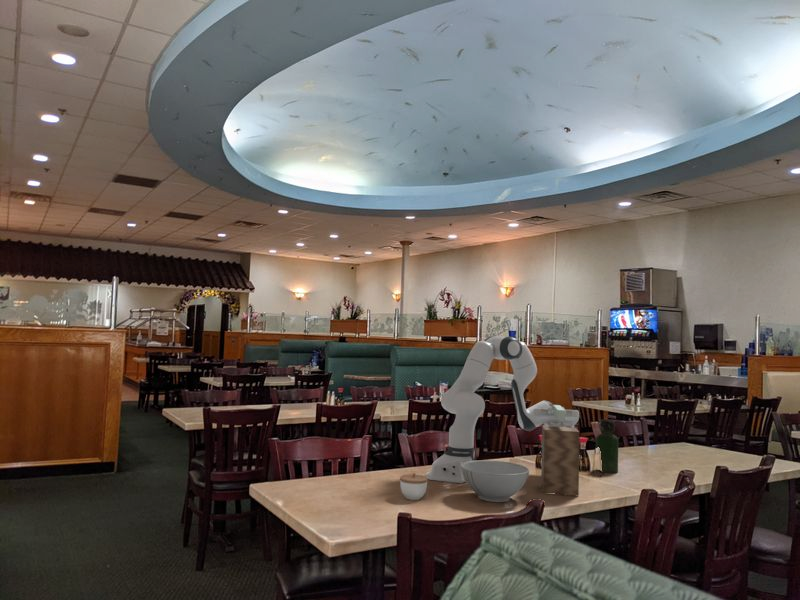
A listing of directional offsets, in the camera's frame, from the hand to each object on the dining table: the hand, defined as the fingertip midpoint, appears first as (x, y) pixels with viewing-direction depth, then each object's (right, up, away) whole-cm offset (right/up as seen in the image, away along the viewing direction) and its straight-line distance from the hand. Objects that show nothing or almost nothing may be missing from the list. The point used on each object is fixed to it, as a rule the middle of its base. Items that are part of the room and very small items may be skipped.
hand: (557, 408), depth 272 cm
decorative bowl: (-33, -30, -31) cm, 54 cm away
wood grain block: (-3, -32, -16) cm, 36 cm away
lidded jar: (-65, -29, -35) cm, 79 cm away
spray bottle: (+32, -37, +30) cm, 57 cm away
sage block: (-1, -3, -7) cm, 7 cm away
